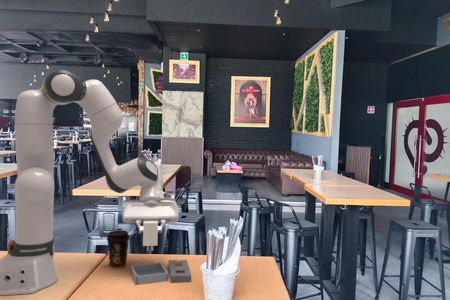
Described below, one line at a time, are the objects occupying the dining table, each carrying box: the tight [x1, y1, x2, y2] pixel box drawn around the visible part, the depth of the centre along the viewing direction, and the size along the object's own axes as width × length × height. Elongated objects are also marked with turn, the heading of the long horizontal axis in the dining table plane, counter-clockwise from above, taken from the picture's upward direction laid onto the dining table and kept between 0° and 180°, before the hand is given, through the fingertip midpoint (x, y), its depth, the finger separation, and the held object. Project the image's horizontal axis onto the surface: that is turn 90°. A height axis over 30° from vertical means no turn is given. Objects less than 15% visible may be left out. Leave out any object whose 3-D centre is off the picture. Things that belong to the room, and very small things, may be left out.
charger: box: [142, 221, 159, 252], centre depth 125 cm, size 5×4×10 cm
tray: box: [130, 261, 169, 286], centre depth 126 cm, size 11×11×3 cm
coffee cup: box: [106, 229, 130, 270], centre depth 136 cm, size 9×8×13 cm
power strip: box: [168, 258, 192, 284], centre depth 130 cm, size 16×7×3 cm, turn 12°
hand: (150, 232), depth 125 cm, fingers closed on charger, 5 cm apart
